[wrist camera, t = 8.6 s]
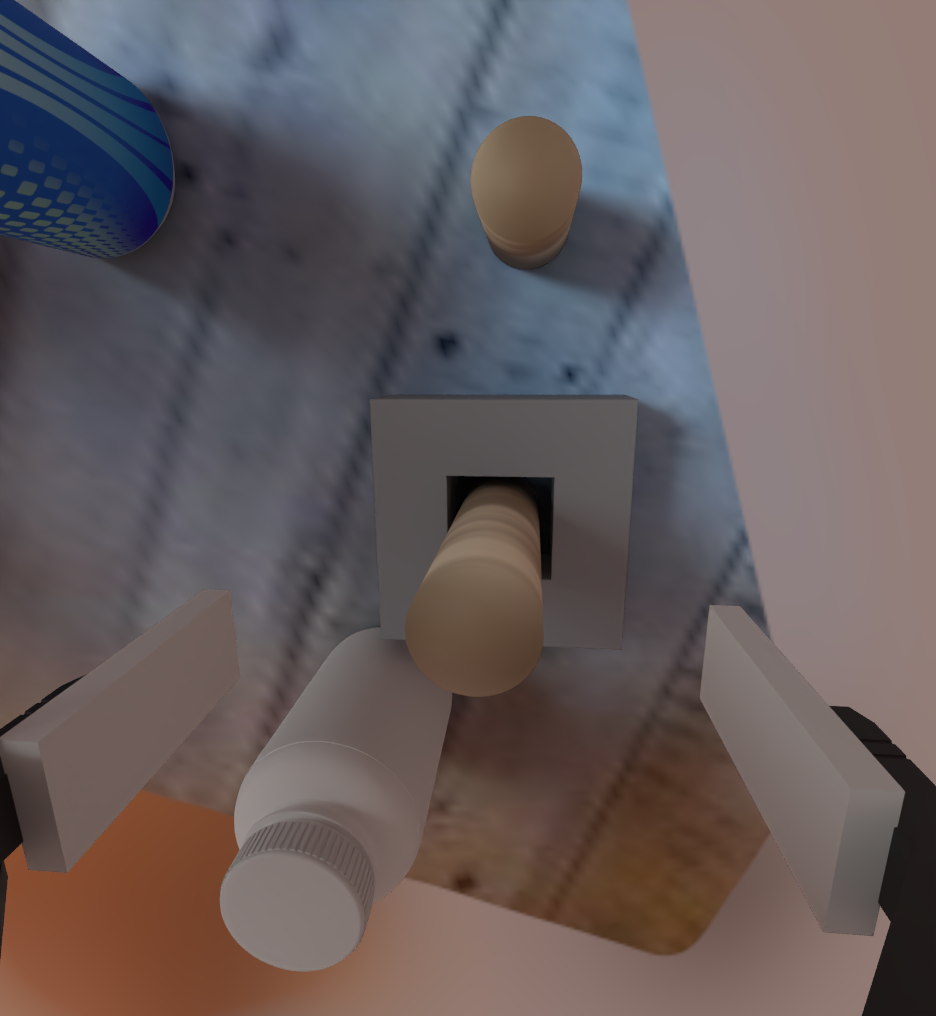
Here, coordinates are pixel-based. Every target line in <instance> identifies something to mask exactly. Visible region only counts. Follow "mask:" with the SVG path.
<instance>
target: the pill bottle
mask: <svg viewBox="0 0 936 1016" xmlns="http://www.w3.org/2000/svg"><path fill="white" fill-rule="evenodd" d="M451 706H452V692H450V691H448V690H446V689H444V688H442V687H440V686H438V685H437V684H435V683H434V682H432V681H431V680H430V679H429V678H427V677H426V676H425V675H424V674H423V673H422V671H421V670H420V669H419V668H418V666H417V665H416V664H415V662H414V660H413V658H412V656H411V654H410V652H409V649H408V646H407V642H406V640H398V639H381V630H380V627H376V628H369V629H365V630H362V631H359V632H357V633H354V634H352V635H351V636H349V637H347V638H346V639H344V640H343V641H342V642H341V643H340V644H339V645H338V646H337V647H336V648H335V649H334V650H333V651H332V652H331V653H330V654H329V656H328V657H327V658H326V660H325V661H324V663H323V664H322V666H321V667H320V668H319V670H318V671H317V673H316V674H315V676H314V677H313V679H312V680H311V681H310V683H309V684H308V686H307V687H306V689H305V690H304V691H303V693H302V694H301V696H300V697H299V699H298V700H297V702H296V703H295V704H294V706H293V707H292V709H291V710H290V712H289V713H288V714H287V716H286V717H285V719H284V720H283V722H282V723H281V725H280V726H279V727H278V729H277V730H276V732H275V733H274V735H273V736H272V738H271V739H270V740H269V742H268V743H267V745H266V746H265V748H264V749H263V750H262V752H261V753H260V755H259V756H258V758H257V759H256V761H255V762H254V763H253V765H252V766H251V768H250V770H249V771H248V773H247V774H246V776H245V778H244V780H243V782H242V784H241V787H240V790H239V794H238V797H237V801H236V806H235V815H234V827H235V835H236V840H237V844H238V847H239V849H240V851H239V852H238V854H237V856H236V857H235V859H234V861H233V863H232V864H231V866H230V868H229V870H228V871H227V873H226V875H225V877H224V879H223V882H222V885H221V889H220V892H221V893H220V908H221V913H222V917H223V920H224V922H225V925H226V927H227V929H228V930H229V932H230V933H231V935H232V936H233V937H234V939H235V940H236V941H237V942H238V943H239V944H240V945H241V946H242V947H243V948H244V949H245V950H246V951H247V952H249V953H250V954H251V955H253V956H254V957H256V958H258V959H259V960H261V961H263V962H265V963H268V964H270V965H272V966H276V967H278V968H282V969H286V970H292V971H315V970H321V969H325V968H328V967H331V966H333V965H335V964H337V963H339V962H341V961H342V960H344V959H345V958H346V957H347V956H348V955H350V953H352V952H353V951H354V950H355V948H356V947H357V946H358V945H359V943H360V942H361V940H362V937H363V935H364V932H365V928H366V925H367V922H368V918H369V915H370V911H371V907H372V904H374V903H376V902H377V901H379V900H381V899H382V898H384V897H385V896H387V895H388V894H389V893H390V892H392V891H393V890H394V889H395V888H396V887H397V886H398V885H399V884H400V882H401V881H402V880H403V879H404V877H405V876H406V874H407V873H408V871H409V870H410V868H411V867H412V865H413V863H414V861H415V859H416V857H417V854H418V851H419V848H420V844H421V840H422V836H423V832H424V827H425V823H426V818H427V814H428V810H429V805H430V801H431V796H432V792H433V787H434V783H435V778H436V774H437V769H438V765H439V761H440V756H441V752H442V747H443V743H444V738H445V734H446V729H447V725H448V720H449V716H450V711H451Z"/></svg>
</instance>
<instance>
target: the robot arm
mask: <svg viewBox="0 0 936 1016" xmlns="http://www.w3.org/2000/svg"><path fill="white" fill-rule="evenodd" d="M239 678H240V671H239V663H238V654H237V646H236V638H235V629H234V621H233V613H232V604H231V596H230V590H203V591H201V592H200V593H199V594H197V595H196V596H194V597H193V598H192V599H190V600H189V601H188V602H186V603H185V604H183V605H182V606H181V607H179V608H178V609H176V610H175V611H174V612H172V613H171V614H170V615H168V616H167V617H165V618H164V619H163V620H161V621H160V622H158V623H157V624H156V625H154V626H153V627H152V628H150V629H149V630H147V631H146V632H145V633H143V634H142V635H141V636H139V637H138V638H136V639H135V640H134V641H132V642H131V643H129V644H128V645H127V646H125V647H124V648H123V649H121V650H120V651H118V652H117V653H116V654H114V655H113V656H111V657H110V658H109V659H107V660H106V661H105V662H103V663H102V664H100V665H99V666H98V667H96V668H95V669H94V670H92V671H91V672H89V673H88V674H86V675H84V676H82V677H80V678H77V679H75V680H73V681H71V682H69V683H67V684H64V685H62V686H61V687H59V688H58V689H56V690H55V691H53V692H52V693H51V694H49V695H48V696H46V697H45V698H44V699H42V700H41V703H37V704H35V705H34V706H32V707H31V708H29V709H28V710H27V711H25V714H24V715H20V716H18V717H17V718H15V719H14V720H13V721H11V722H10V723H8V724H7V725H5V726H4V727H3V728H1V729H0V956H1V946H2V935H3V924H4V913H5V902H6V890H7V880H8V876H7V872H6V868H5V864H4V859H6V858H7V856H9V855H10V854H11V853H12V852H13V851H14V850H15V849H16V848H17V847H18V846H19V845H20V844H21V843H22V846H23V850H24V854H25V858H26V862H27V866H28V870H38V871H51V872H64V873H68V872H69V870H70V869H71V868H72V867H73V866H74V865H75V864H76V862H77V861H78V860H79V859H80V858H81V857H82V856H83V855H84V853H85V852H86V851H87V850H88V849H89V848H90V847H91V846H92V844H93V843H94V842H95V841H96V840H97V839H98V838H99V836H100V835H101V834H102V833H103V832H104V831H105V830H106V829H107V827H108V826H109V825H110V824H111V823H112V822H113V820H115V818H116V817H117V816H118V815H119V814H120V812H122V811H123V809H124V808H125V807H126V806H127V805H128V804H129V803H130V801H131V800H132V799H133V798H134V797H135V796H136V795H137V793H138V792H139V791H140V790H141V789H142V788H143V787H144V786H145V785H146V783H147V782H148V781H149V780H150V779H151V778H152V777H153V775H154V774H155V773H156V772H157V771H158V770H159V769H160V768H161V766H162V765H163V764H164V763H165V762H166V761H167V760H168V759H169V757H170V756H171V755H172V754H173V753H174V752H175V751H176V749H177V748H178V747H179V746H180V745H181V744H182V743H183V742H184V740H185V739H186V738H187V737H188V736H189V735H190V734H191V733H192V731H193V730H194V729H195V728H196V727H197V726H198V725H199V724H200V722H201V721H202V720H203V719H204V718H205V717H206V716H207V714H208V713H209V712H210V711H211V710H212V709H213V708H214V707H215V705H216V704H217V703H218V702H219V701H220V700H221V699H222V698H223V696H224V695H225V694H226V693H227V692H228V691H229V690H230V688H231V687H232V686H233V685H234V684H235V683H236V682H237V681H238V679H239ZM700 700H701V702H702V704H703V705H704V707H705V709H706V711H707V713H708V715H709V717H710V719H711V721H712V722H713V724H714V726H715V728H716V730H717V732H718V734H719V736H720V738H721V740H722V741H723V743H724V745H725V747H726V749H727V751H728V753H729V755H730V757H731V758H732V760H733V762H734V764H735V766H736V768H737V770H738V772H739V774H740V775H741V777H742V779H743V781H744V783H745V785H746V787H747V789H748V791H749V793H750V794H751V796H752V798H753V800H754V802H755V804H756V806H757V808H758V810H759V811H760V813H761V815H762V817H763V819H764V821H765V823H766V825H767V827H768V829H769V830H770V832H771V834H772V836H773V838H774V840H775V842H776V844H777V846H778V847H779V849H780V851H781V853H782V855H783V856H784V859H785V861H786V863H787V864H788V866H789V868H790V870H791V872H792V874H793V876H794V878H795V880H796V882H797V883H798V885H799V887H800V889H801V891H802V893H803V895H804V897H805V899H806V900H807V902H808V904H809V906H810V908H811V910H812V912H813V914H814V915H815V917H816V919H817V921H818V923H819V925H820V927H821V929H822V931H823V932H828V933H841V934H853V935H866V936H873V935H874V931H875V926H876V921H877V917H878V912H879V908H880V906H881V908H882V909H883V911H884V912H885V913H886V915H887V916H888V918H889V920H890V921H891V923H890V927H889V930H888V933H887V936H886V940H885V943H884V946H883V949H882V953H881V956H880V959H879V962H878V965H877V969H876V972H875V975H874V978H873V982H872V985H871V988H870V991H869V995H868V998H867V1001H866V1004H865V1007H864V1011H863V1014H862V1016H936V786H935V785H934V784H933V783H932V782H931V781H930V780H929V779H928V778H927V777H926V775H924V773H923V772H922V771H921V770H920V769H919V768H918V767H917V766H916V765H915V764H914V763H913V762H912V761H911V760H909V759H906V755H905V754H904V753H903V752H902V751H901V750H900V749H899V748H898V747H897V746H896V745H895V744H892V742H891V740H890V739H889V738H888V737H887V735H886V734H885V733H884V732H883V731H882V730H881V729H880V728H879V727H878V726H877V725H876V724H875V723H874V722H872V721H870V720H869V719H867V718H866V717H864V716H862V715H861V714H859V713H858V712H856V711H854V710H853V709H851V708H849V707H838V706H829V705H828V704H827V703H826V702H825V701H824V700H823V699H822V698H821V697H820V695H819V694H818V693H817V692H816V691H815V690H814V689H813V688H812V686H811V685H810V684H809V683H808V682H807V681H806V680H805V679H804V677H803V676H802V675H801V674H800V673H799V672H798V671H797V670H796V669H795V667H794V666H793V665H792V664H791V663H790V662H789V661H788V659H787V658H786V657H785V656H784V655H783V654H782V653H781V652H780V650H779V649H778V648H777V647H776V646H775V645H774V644H773V643H772V641H771V640H770V639H769V638H768V637H767V636H766V635H765V634H764V632H763V631H762V630H761V629H760V628H759V627H758V626H757V625H756V623H755V622H754V621H753V620H752V619H751V618H750V617H749V616H748V614H747V613H746V612H745V611H744V610H743V609H742V608H741V607H740V606H725V605H710V606H709V615H708V625H707V634H706V643H705V652H704V662H703V671H702V680H701V689H700Z"/></svg>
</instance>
